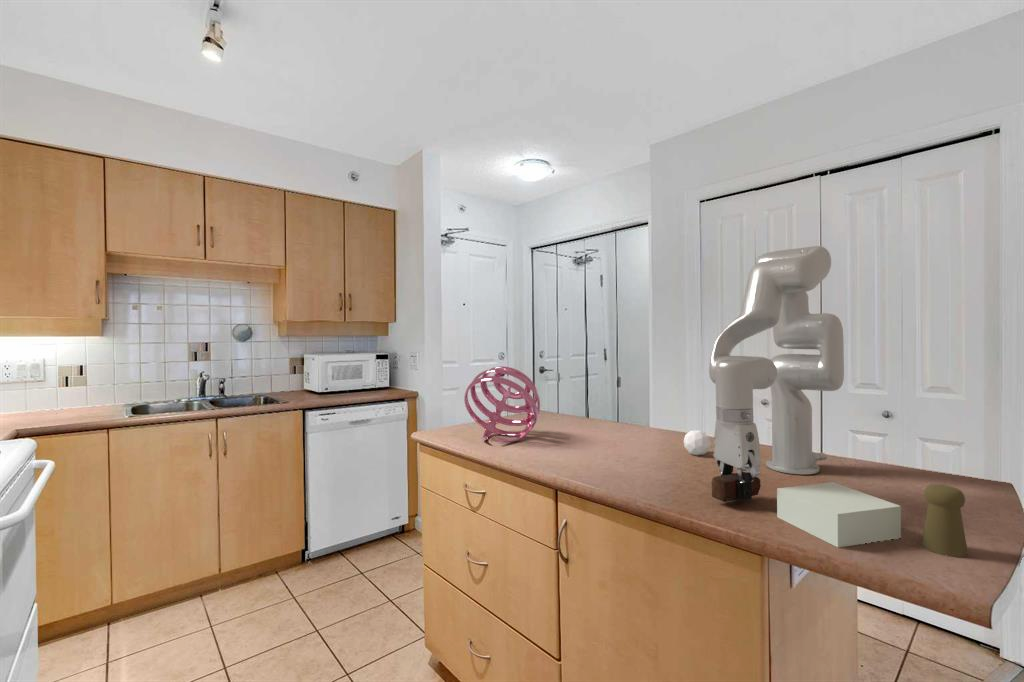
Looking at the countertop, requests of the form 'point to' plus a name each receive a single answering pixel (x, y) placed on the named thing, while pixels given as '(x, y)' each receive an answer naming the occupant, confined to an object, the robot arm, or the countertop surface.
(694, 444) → the ball
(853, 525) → the sage block
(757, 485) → the brick
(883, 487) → the countertop surface
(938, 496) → the cork
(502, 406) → the spiral basket
